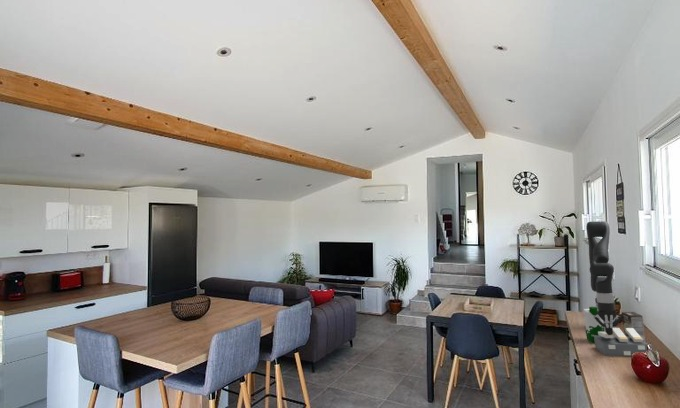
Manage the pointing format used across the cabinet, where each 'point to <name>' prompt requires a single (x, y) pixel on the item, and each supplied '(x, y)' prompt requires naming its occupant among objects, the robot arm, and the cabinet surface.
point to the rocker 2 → (620, 335)
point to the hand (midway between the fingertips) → (609, 334)
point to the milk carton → (592, 324)
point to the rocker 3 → (633, 335)
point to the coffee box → (633, 323)
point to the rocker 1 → (605, 335)
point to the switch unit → (618, 346)
